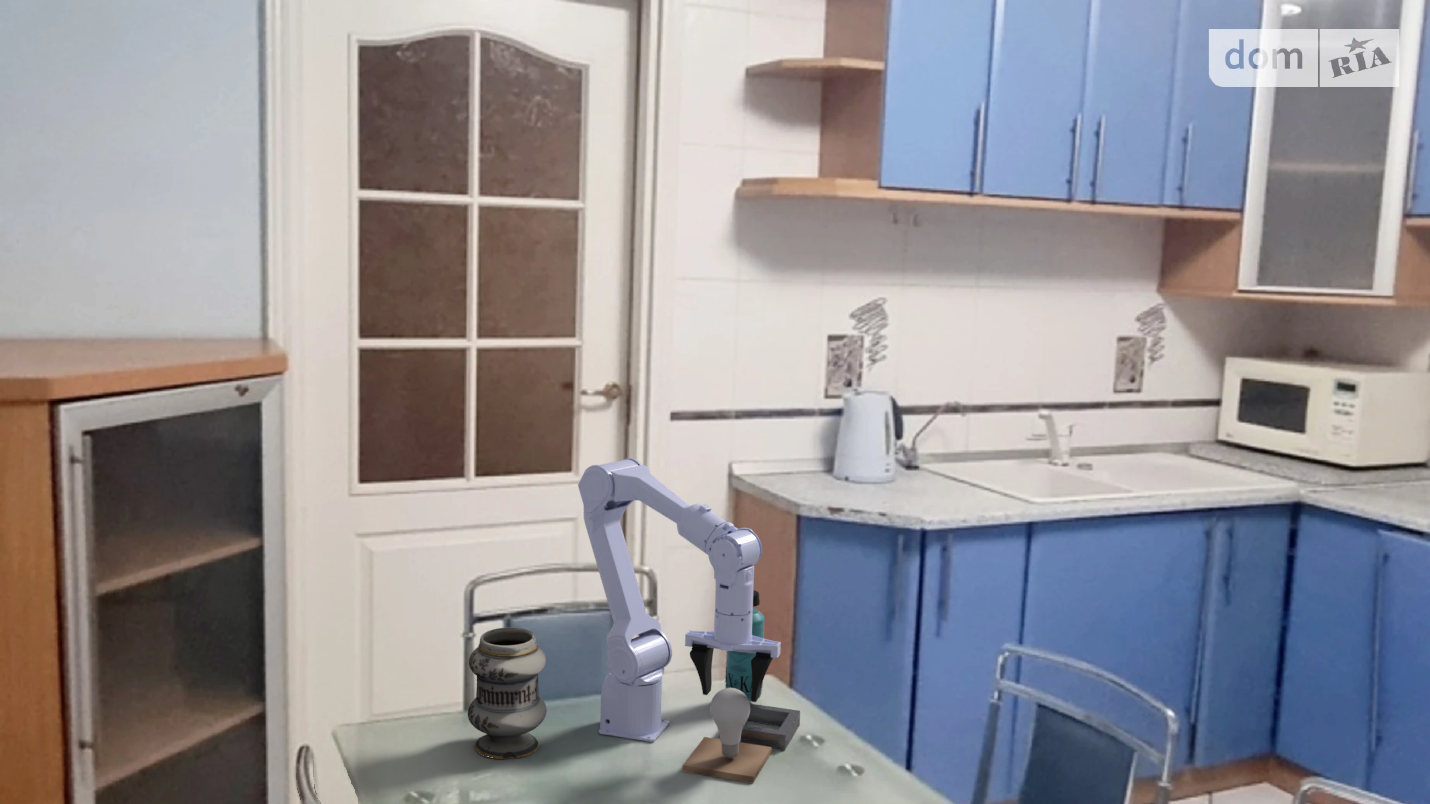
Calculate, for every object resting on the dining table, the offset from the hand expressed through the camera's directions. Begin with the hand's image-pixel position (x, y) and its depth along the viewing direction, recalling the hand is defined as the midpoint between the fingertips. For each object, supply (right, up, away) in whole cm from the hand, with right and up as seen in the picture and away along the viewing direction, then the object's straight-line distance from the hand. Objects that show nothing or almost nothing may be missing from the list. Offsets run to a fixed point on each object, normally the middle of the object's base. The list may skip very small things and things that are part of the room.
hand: (730, 696), depth 183 cm
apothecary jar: (-35, -9, +4) cm, 36 cm away
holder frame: (+5, -9, +12) cm, 16 cm away
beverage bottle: (+2, -7, +24) cm, 26 cm away
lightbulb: (0, -10, 0) cm, 10 cm away
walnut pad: (0, -10, +1) cm, 10 cm away
